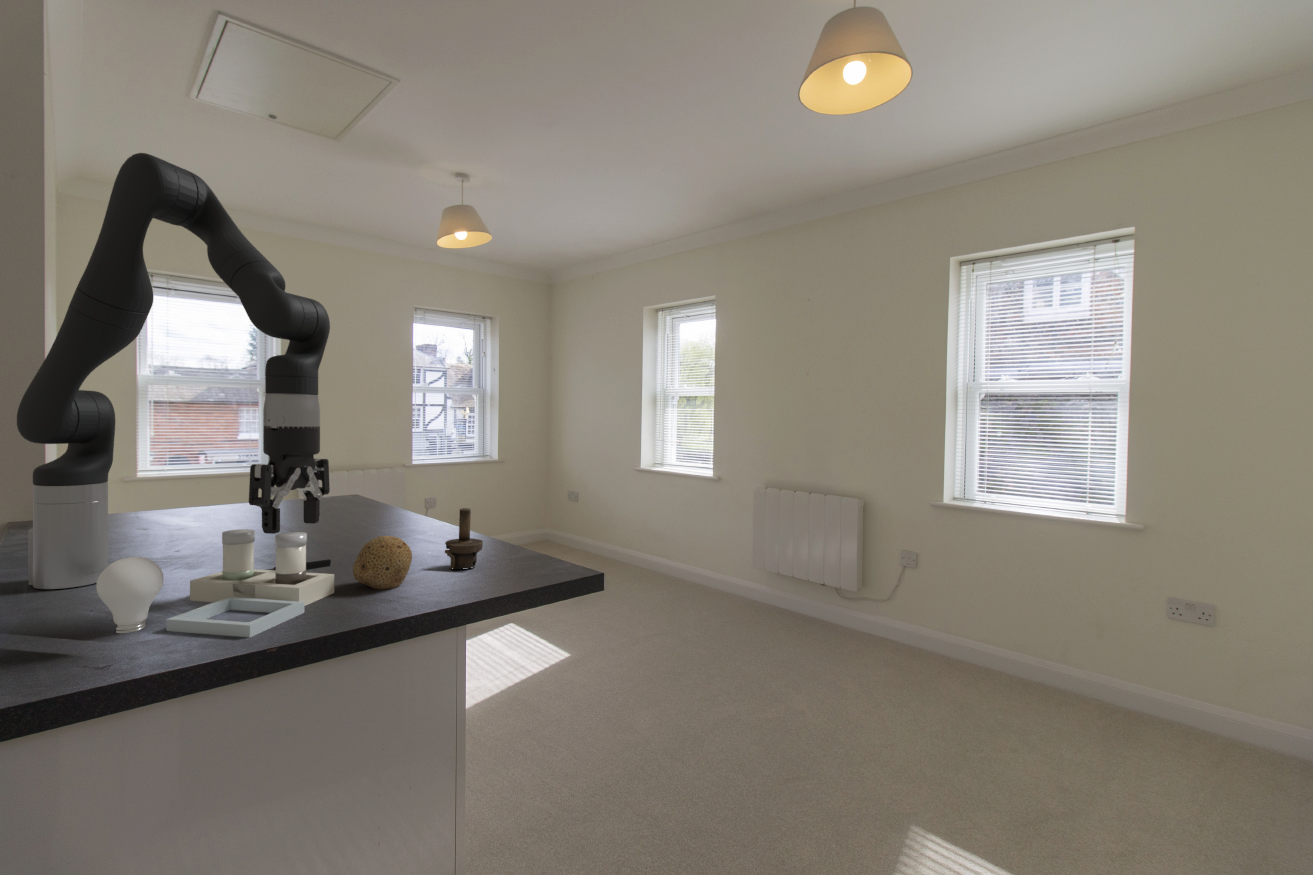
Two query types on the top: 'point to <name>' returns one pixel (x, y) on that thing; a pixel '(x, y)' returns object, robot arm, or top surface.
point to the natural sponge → (383, 563)
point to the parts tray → (200, 624)
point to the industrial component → (463, 544)
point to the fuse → (238, 554)
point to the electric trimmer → (314, 564)
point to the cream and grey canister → (290, 558)
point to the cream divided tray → (262, 588)
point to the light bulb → (130, 591)
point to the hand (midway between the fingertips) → (292, 527)
